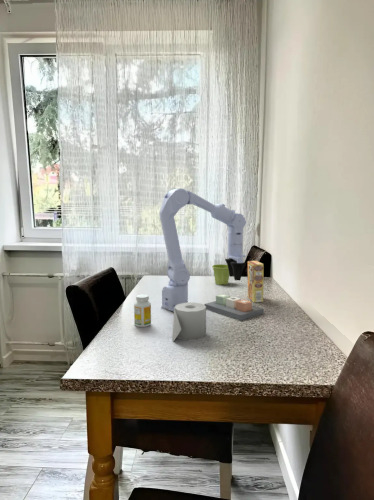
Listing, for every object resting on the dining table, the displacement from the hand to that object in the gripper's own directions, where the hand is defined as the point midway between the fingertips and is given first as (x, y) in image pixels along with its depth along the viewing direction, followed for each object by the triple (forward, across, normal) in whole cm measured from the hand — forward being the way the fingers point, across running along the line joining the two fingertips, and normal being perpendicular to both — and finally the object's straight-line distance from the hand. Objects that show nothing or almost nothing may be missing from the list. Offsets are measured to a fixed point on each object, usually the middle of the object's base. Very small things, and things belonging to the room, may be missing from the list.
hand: (234, 278), depth 143 cm
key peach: (+8, -17, +1) cm, 19 cm away
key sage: (+8, -8, +7) cm, 13 cm away
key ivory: (+8, -12, +4) cm, 15 cm away
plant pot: (+10, +31, -2) cm, 33 cm away
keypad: (+9, -12, +4) cm, 16 cm away
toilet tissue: (+10, -34, +23) cm, 43 cm away
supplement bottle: (+10, -22, +36) cm, 44 cm away
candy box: (+10, +1, -9) cm, 13 cm away
